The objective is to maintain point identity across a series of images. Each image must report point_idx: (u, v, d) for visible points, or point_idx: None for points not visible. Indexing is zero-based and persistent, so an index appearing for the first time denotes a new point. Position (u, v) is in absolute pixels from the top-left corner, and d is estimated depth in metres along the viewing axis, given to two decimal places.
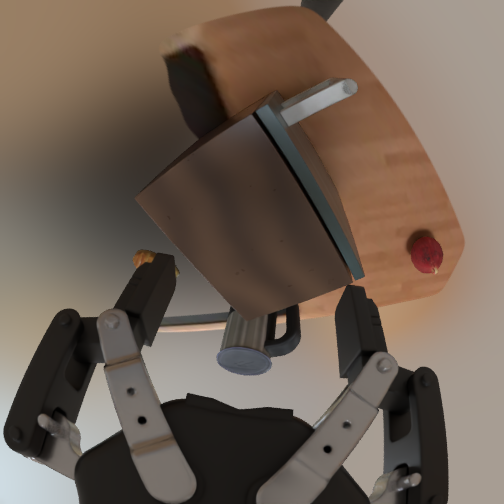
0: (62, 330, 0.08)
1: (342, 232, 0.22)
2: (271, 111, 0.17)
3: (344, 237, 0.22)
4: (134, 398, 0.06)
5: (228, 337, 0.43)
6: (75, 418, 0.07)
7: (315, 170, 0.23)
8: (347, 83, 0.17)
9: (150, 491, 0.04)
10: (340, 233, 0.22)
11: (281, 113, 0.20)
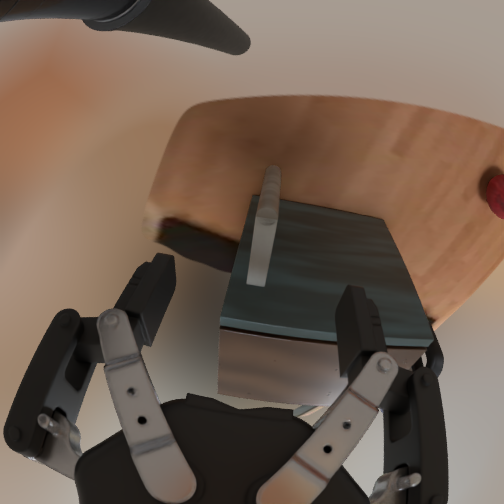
0: (62, 330, 0.08)
1: None
2: (228, 318, 0.18)
3: None
4: (134, 398, 0.06)
5: None
6: (75, 418, 0.07)
7: (321, 292, 0.21)
8: (261, 216, 0.17)
9: (150, 491, 0.04)
10: None
11: (248, 283, 0.21)
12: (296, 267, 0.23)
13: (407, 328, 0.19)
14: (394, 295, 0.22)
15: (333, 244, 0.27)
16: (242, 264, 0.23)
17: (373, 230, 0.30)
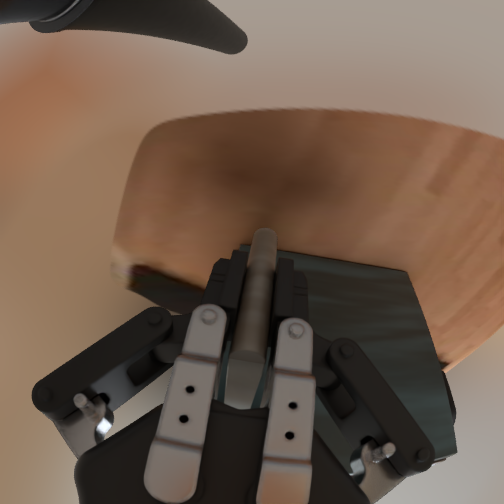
0: (146, 327, 0.09)
1: None
2: None
3: None
4: (189, 396, 0.06)
5: None
6: (118, 406, 0.08)
7: (326, 414, 0.13)
8: (238, 359, 0.10)
9: (145, 479, 0.04)
10: None
11: None
12: None
13: None
14: (419, 399, 0.14)
15: (346, 326, 0.19)
16: None
17: (396, 292, 0.22)
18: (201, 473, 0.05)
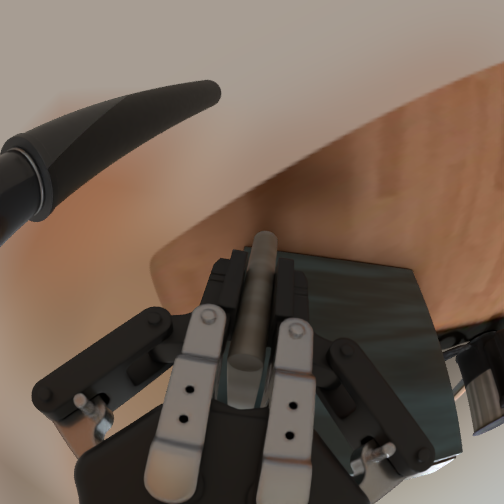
0: (146, 327, 0.08)
1: None
2: None
3: None
4: (189, 396, 0.06)
5: (472, 420, 0.24)
6: (118, 406, 0.08)
7: None
8: (237, 362, 0.10)
9: (145, 479, 0.04)
10: None
11: None
12: None
13: (434, 446, 0.11)
14: (424, 399, 0.14)
15: (350, 326, 0.19)
16: (223, 376, 0.15)
17: (401, 291, 0.22)
18: (201, 473, 0.05)
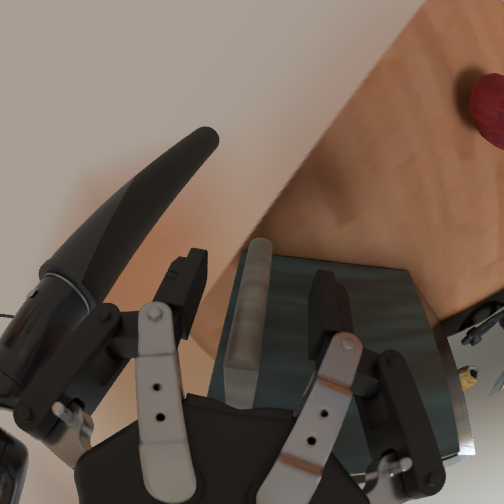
0: (98, 324, 0.08)
1: None
2: None
3: None
4: (158, 394, 0.06)
5: None
6: (93, 410, 0.08)
7: None
8: (233, 367, 0.10)
9: (147, 486, 0.04)
10: None
11: None
12: (295, 378, 0.16)
13: None
14: None
15: None
16: (222, 380, 0.16)
17: (397, 292, 0.22)
18: (195, 466, 0.05)
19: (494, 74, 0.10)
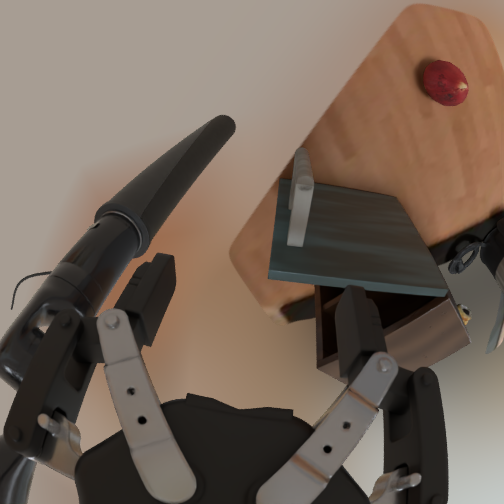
0: (62, 330, 0.08)
1: (401, 285, 0.21)
2: (276, 271, 0.22)
3: (406, 286, 0.21)
4: (134, 398, 0.06)
5: None
6: (75, 418, 0.07)
7: (350, 251, 0.24)
8: (301, 183, 0.21)
9: (150, 491, 0.04)
10: (400, 287, 0.21)
11: (288, 245, 0.24)
12: (326, 232, 0.26)
13: (425, 279, 0.21)
14: (411, 254, 0.24)
15: (355, 215, 0.30)
16: (281, 231, 0.26)
17: (388, 205, 0.33)
18: (188, 461, 0.05)
19: None
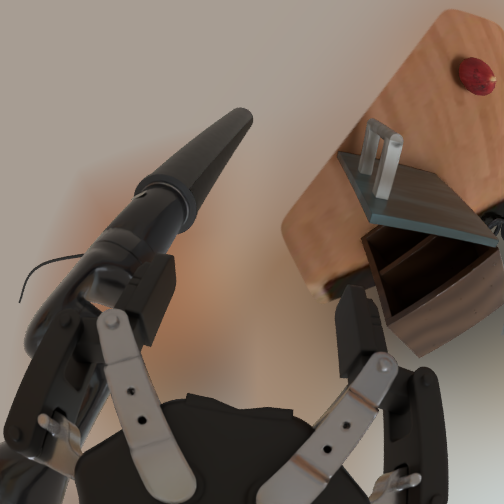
0: (62, 330, 0.08)
1: (468, 233, 0.21)
2: (378, 215, 0.22)
3: (471, 234, 0.21)
4: (134, 398, 0.06)
5: None
6: (75, 418, 0.07)
7: (423, 206, 0.24)
8: (393, 140, 0.21)
9: (150, 491, 0.04)
10: (467, 235, 0.21)
11: (377, 197, 0.24)
12: (399, 192, 0.26)
13: (481, 231, 0.22)
14: (465, 213, 0.25)
15: (413, 182, 0.30)
16: (364, 187, 0.26)
17: (432, 178, 0.33)
18: (188, 461, 0.05)
19: (471, 57, 0.20)
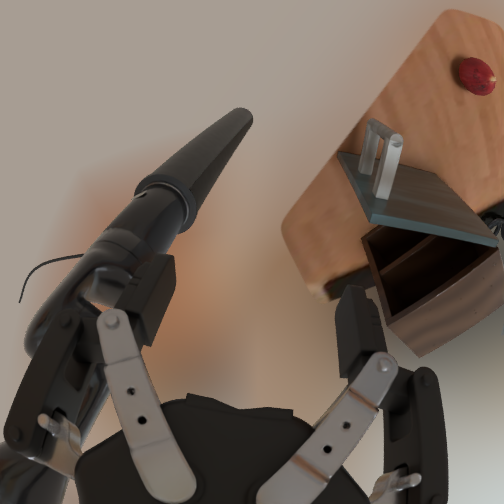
0: (62, 330, 0.08)
1: (468, 233, 0.21)
2: (378, 215, 0.22)
3: (471, 234, 0.21)
4: (134, 398, 0.06)
5: None
6: (75, 418, 0.07)
7: (423, 206, 0.24)
8: (393, 140, 0.21)
9: (150, 491, 0.04)
10: (467, 235, 0.21)
11: (377, 197, 0.24)
12: (399, 192, 0.26)
13: (481, 231, 0.22)
14: (465, 213, 0.25)
15: (413, 182, 0.30)
16: (364, 187, 0.26)
17: (432, 178, 0.33)
18: (188, 461, 0.05)
19: (471, 57, 0.20)
